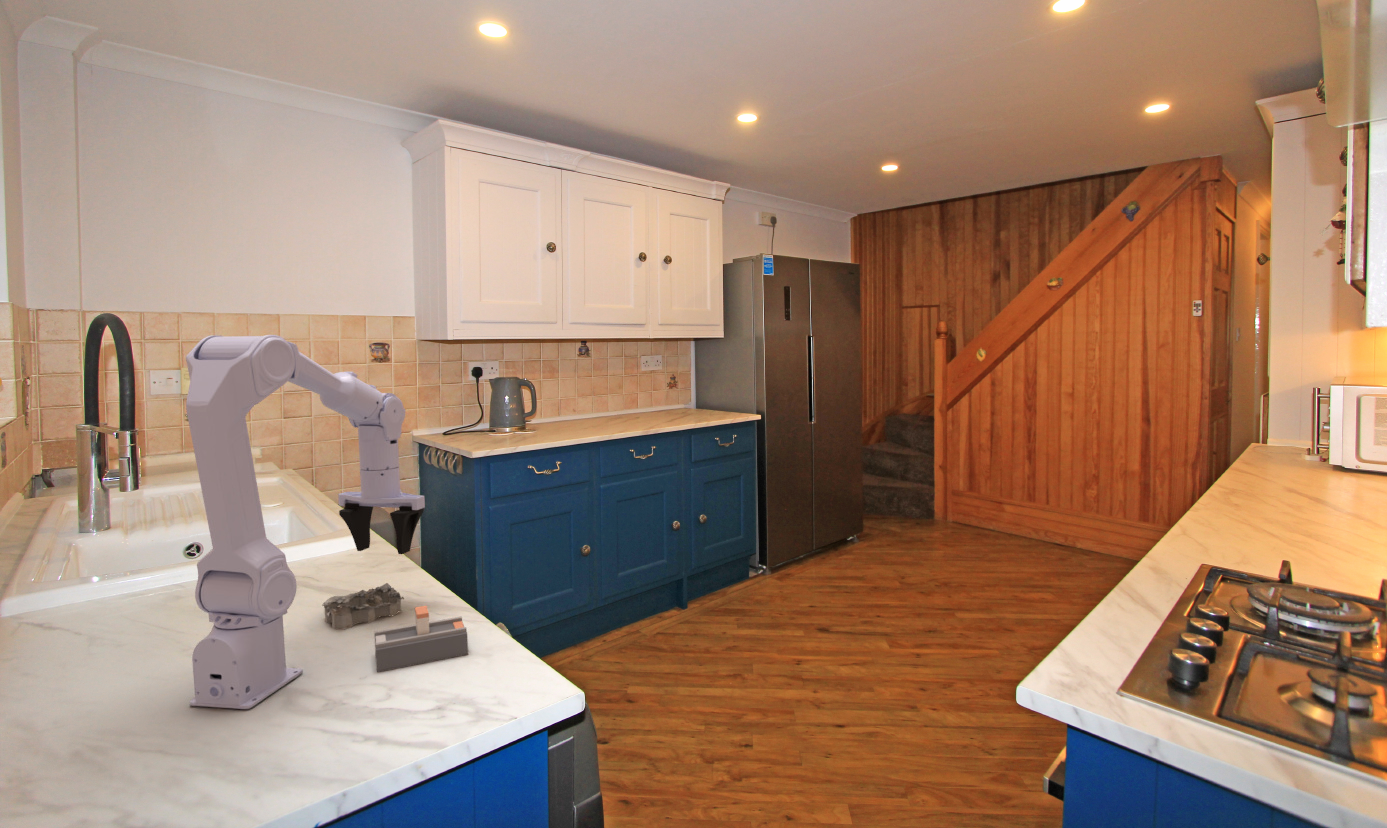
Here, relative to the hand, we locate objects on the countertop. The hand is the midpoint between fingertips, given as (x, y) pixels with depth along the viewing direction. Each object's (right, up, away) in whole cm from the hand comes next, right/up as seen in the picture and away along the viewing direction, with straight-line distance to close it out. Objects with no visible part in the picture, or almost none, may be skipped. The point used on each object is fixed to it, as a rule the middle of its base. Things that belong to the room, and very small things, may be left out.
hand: (383, 550), depth 109 cm
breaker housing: (+12, -11, -15) cm, 22 cm away
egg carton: (-3, -11, -1) cm, 11 cm away
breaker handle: (+12, -8, -15) cm, 21 cm away
